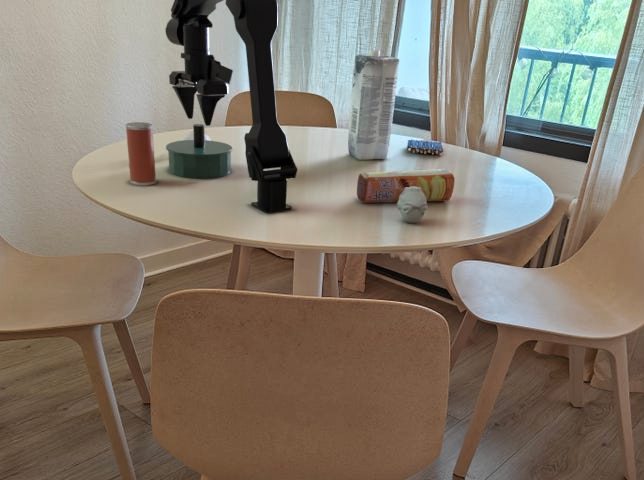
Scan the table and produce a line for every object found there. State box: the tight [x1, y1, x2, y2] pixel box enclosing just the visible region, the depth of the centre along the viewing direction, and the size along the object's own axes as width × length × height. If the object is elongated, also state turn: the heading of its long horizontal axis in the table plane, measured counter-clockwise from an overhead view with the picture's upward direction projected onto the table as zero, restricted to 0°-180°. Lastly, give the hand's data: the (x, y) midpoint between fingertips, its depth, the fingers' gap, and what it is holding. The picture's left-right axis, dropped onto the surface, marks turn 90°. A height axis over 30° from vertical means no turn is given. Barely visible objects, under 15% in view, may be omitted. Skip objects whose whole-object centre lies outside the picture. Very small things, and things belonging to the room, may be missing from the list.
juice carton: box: [347, 50, 400, 161], centre depth 174 cm, size 9×10×27 cm
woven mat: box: [406, 139, 444, 156], centre depth 191 cm, size 10×11×2 cm
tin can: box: [125, 121, 157, 187], centre depth 143 cm, size 6×6×12 cm
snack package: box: [356, 168, 455, 204], centre depth 143 cm, size 21×7×7 cm, turn 105°
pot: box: [167, 150, 232, 180], centre depth 157 cm, size 15×15×5 cm
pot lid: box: [165, 123, 233, 157], centre depth 154 cm, size 16×16×6 cm
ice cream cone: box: [183, 130, 212, 141], centre depth 170 cm, size 6×6×15 cm
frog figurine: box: [396, 186, 428, 224], centre depth 130 cm, size 6×7×7 cm
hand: (198, 122), depth 152 cm, fingers open, 9 cm apart
